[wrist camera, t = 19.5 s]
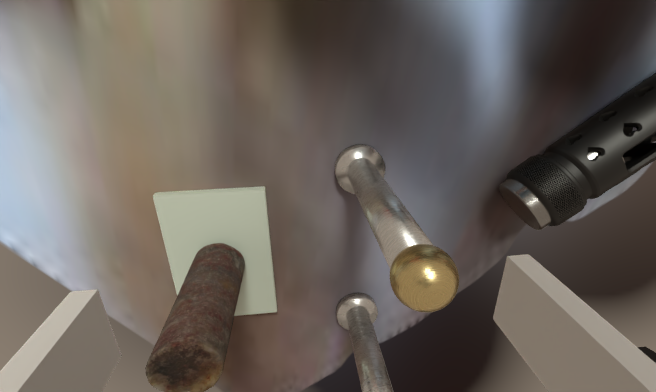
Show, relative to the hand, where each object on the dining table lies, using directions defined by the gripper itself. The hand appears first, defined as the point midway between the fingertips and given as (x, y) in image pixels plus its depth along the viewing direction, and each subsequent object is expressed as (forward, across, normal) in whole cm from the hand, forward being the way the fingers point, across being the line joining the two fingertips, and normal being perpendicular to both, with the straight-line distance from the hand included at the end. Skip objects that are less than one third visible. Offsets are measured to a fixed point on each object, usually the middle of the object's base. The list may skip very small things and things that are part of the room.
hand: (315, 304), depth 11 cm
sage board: (+37, -12, -21) cm, 44 cm away
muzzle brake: (+37, +42, -5) cm, 56 cm away
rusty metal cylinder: (+36, -12, -21) cm, 43 cm away
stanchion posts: (+37, +9, -21) cm, 43 cm away
